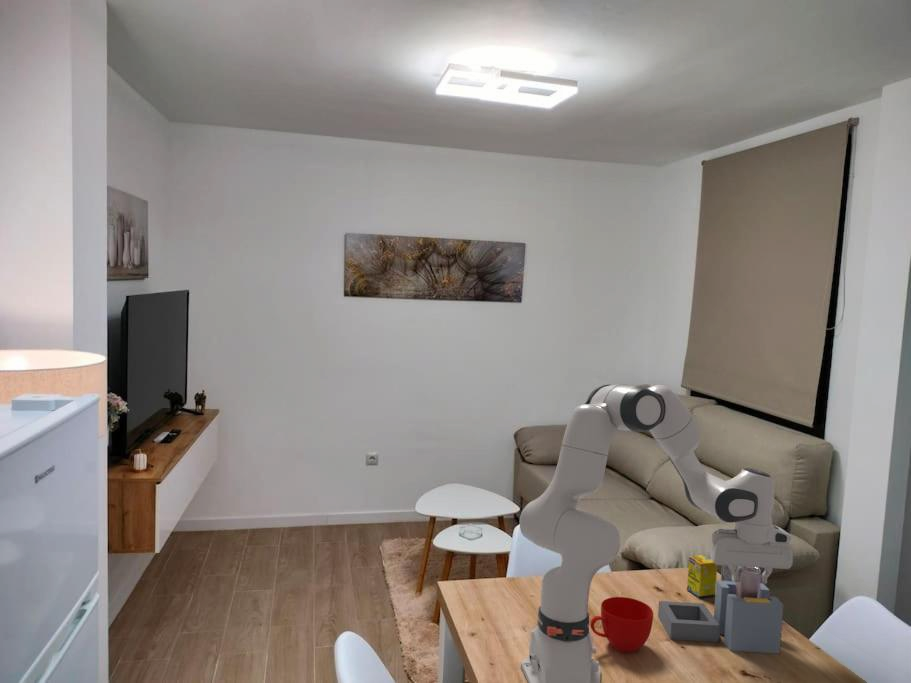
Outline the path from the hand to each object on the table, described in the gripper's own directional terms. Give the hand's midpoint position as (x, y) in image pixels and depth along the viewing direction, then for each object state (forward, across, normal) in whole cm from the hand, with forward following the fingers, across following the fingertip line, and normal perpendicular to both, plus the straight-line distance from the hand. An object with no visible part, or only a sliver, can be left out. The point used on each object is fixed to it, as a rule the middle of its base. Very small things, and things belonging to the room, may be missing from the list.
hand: (749, 581), depth 176 cm
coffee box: (+16, +3, +18) cm, 24 cm away
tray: (+16, -14, +4) cm, 21 cm away
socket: (+16, 0, 0) cm, 16 cm away
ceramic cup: (+16, -35, -8) cm, 39 cm away
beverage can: (+12, 0, 0) cm, 12 cm away
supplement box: (+16, -3, +27) cm, 31 cm away
